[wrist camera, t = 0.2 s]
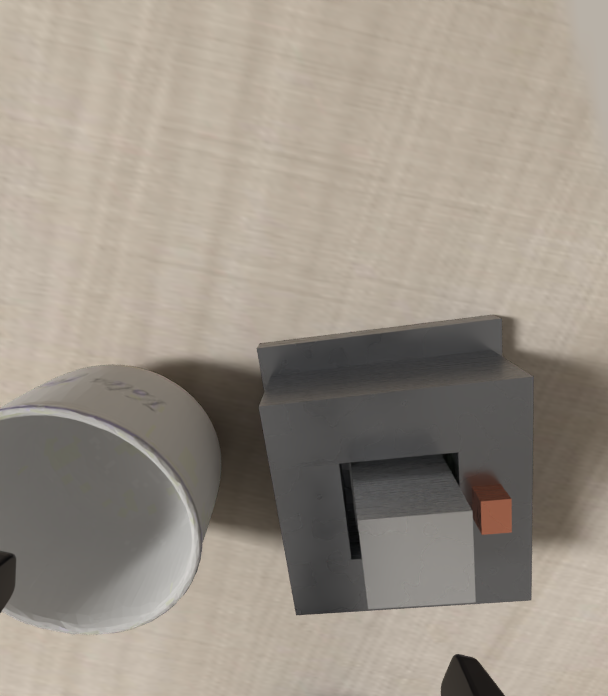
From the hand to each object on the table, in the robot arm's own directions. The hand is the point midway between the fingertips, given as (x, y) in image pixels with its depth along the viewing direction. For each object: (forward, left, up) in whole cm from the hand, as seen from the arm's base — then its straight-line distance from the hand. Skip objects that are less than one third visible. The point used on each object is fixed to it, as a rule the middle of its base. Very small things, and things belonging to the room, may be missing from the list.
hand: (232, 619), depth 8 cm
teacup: (-3, +10, -14) cm, 18 cm away
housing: (-5, -5, -14) cm, 15 cm away
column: (-5, -5, -13) cm, 14 cm away
